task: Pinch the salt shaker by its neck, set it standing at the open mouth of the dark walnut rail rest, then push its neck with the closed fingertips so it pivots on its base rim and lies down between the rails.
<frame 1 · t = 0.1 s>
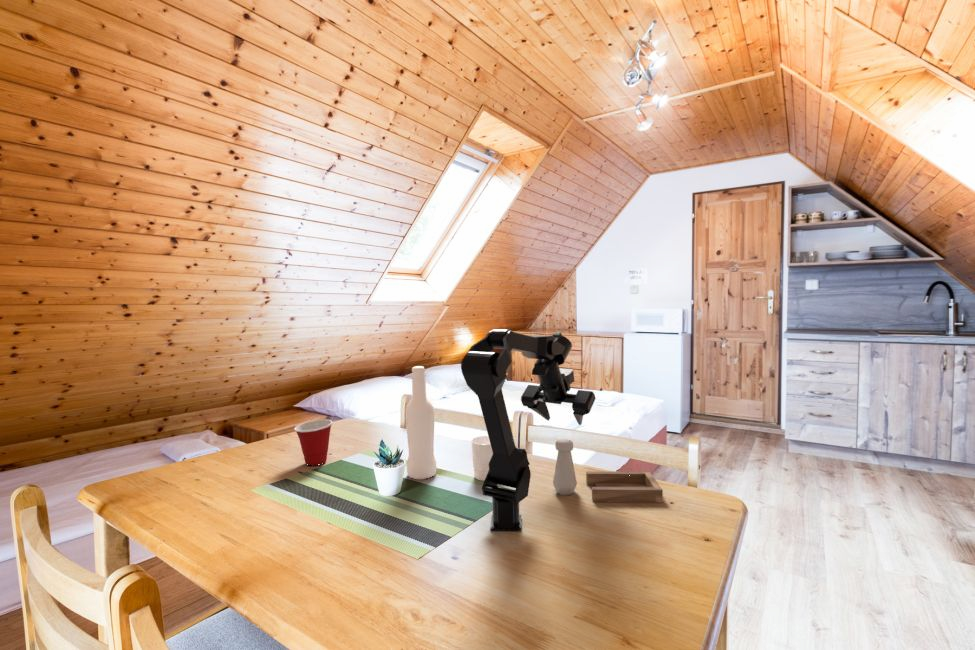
hand: (564, 421, 130), 15 cm above the table, tool tilted 30°, fingers open, 9 cm apart
white cup: (486, 477, 132), on the table
plastic cup: (315, 463, 145), on the table
bottle: (421, 475, 134), on the table
salt shaker: (564, 492, 121), on the table
rest: (619, 492, 120), on the table
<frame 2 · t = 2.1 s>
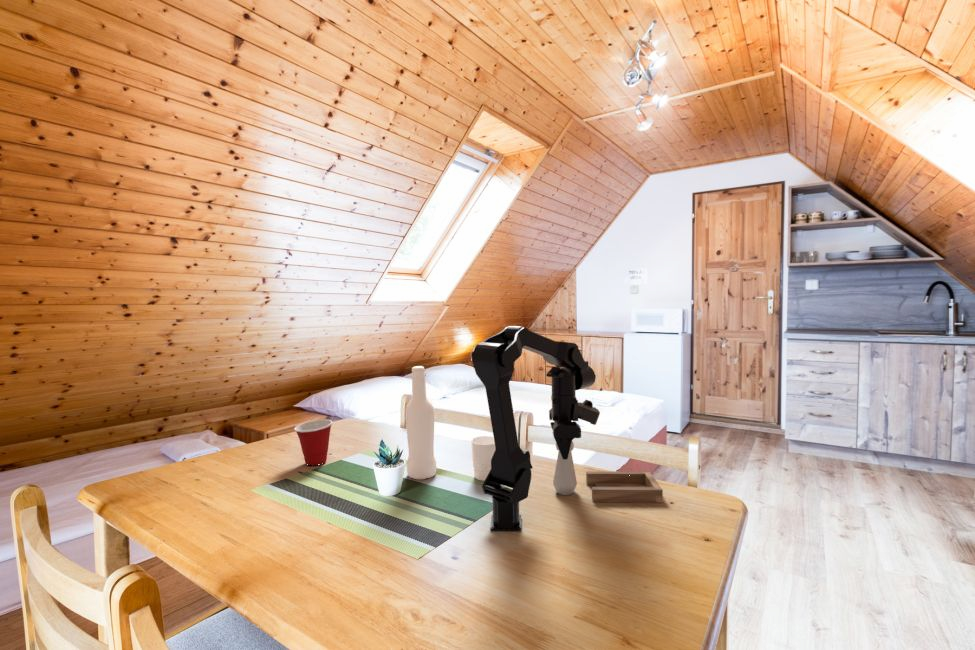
hand: (564, 456, 120), 9 cm above the table, tool pointing down, fingers closed on salt shaker, 4 cm apart
salt shaker: (564, 492, 121), on the table, touching gripper
everything else where it was.
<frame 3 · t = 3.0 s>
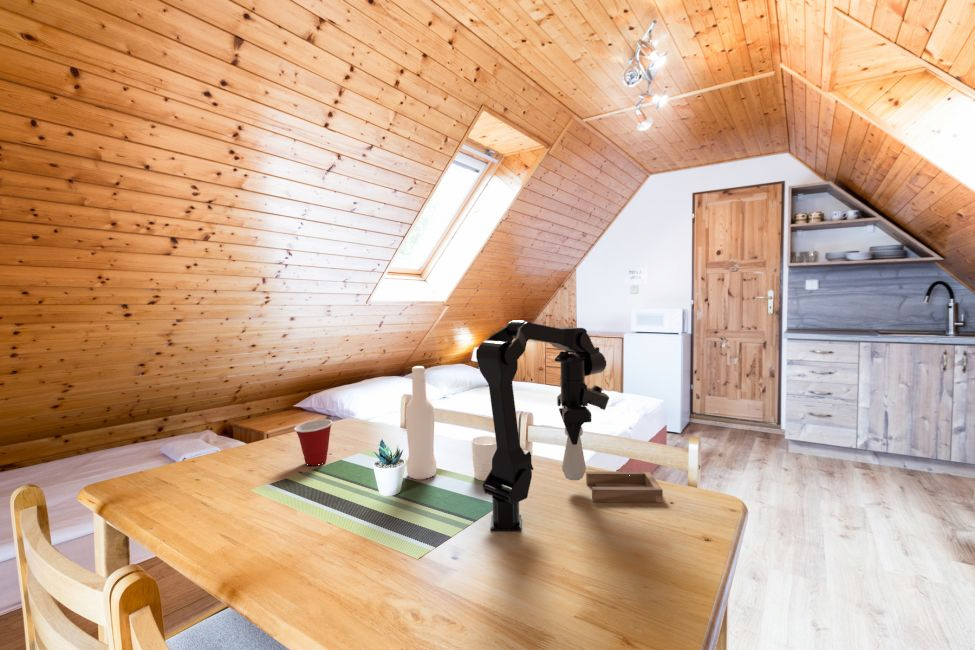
hand: (573, 441, 120), 13 cm above the table, tool pointing down, fingers closed on salt shaker, 4 cm apart
salt shaker: (573, 478, 120), point 3 cm above the table, touching gripper
everything else where it was.
when the fingers open (9 cm above the table, at t = 4.2 s): salt shaker stays where it is, on the table.
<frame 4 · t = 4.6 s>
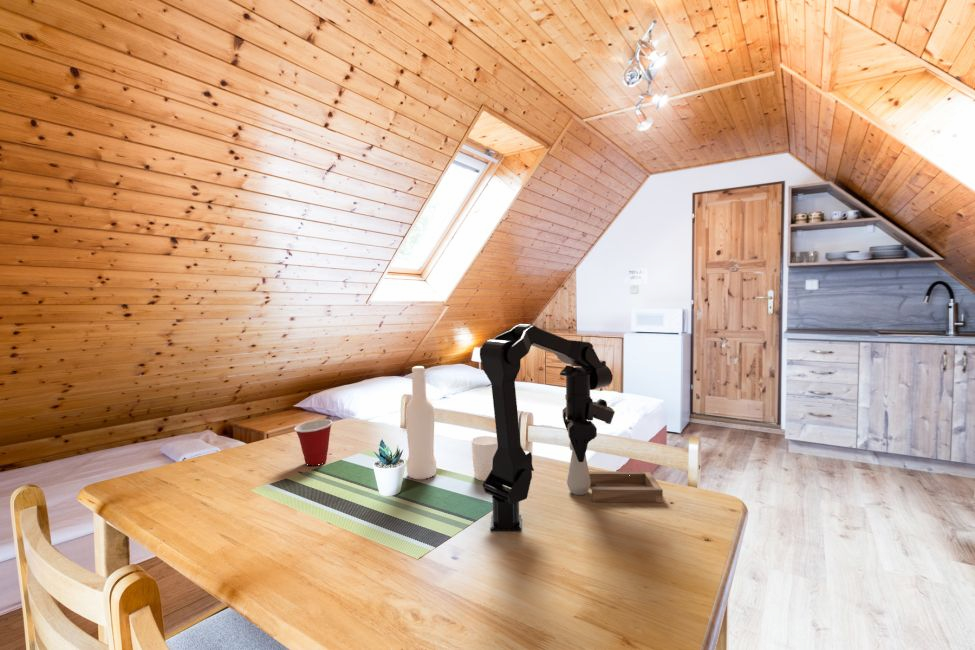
hand: (578, 455, 120), 9 cm above the table, tool pointing down, fingers open, 9 cm apart
salt shaker: (578, 492, 120), on the table
everything else where it was.
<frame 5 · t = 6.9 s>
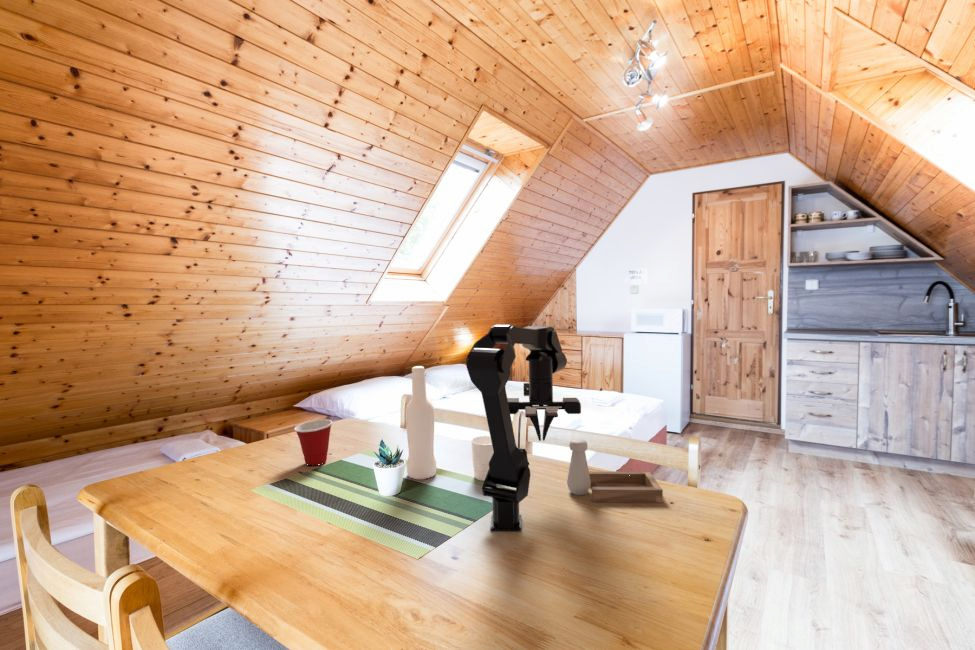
hand: (541, 440, 120), 13 cm above the table, tool pointing down, fingers closed
nothing on the table moved.
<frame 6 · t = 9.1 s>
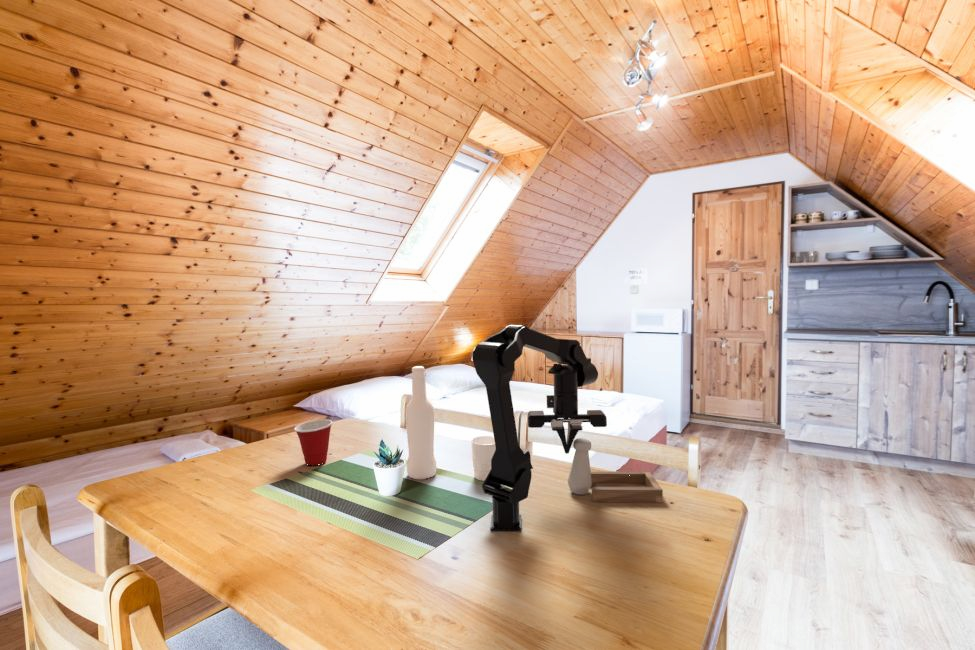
hand: (566, 453, 120), 10 cm above the table, tool pointing down, fingers closed
salt shaker: (578, 492, 120), on the table, touching gripper
everything else where it was.
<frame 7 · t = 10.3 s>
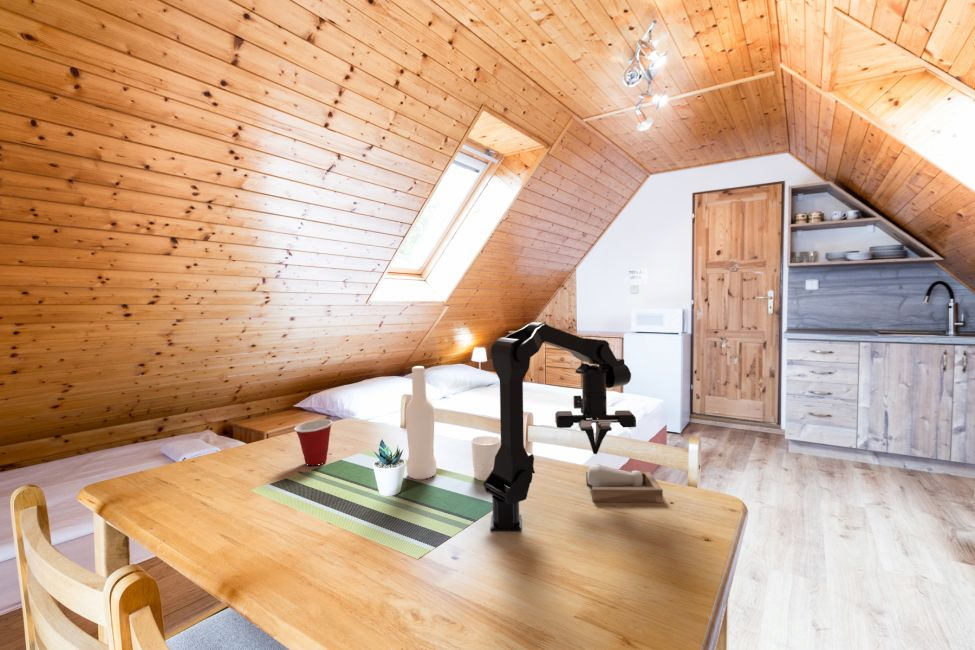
hand: (595, 453, 120), 10 cm above the table, tool pointing down, fingers closed
salt shaker: (587, 475, 121), point 4 cm above the table, touching rest
everything else where it was.
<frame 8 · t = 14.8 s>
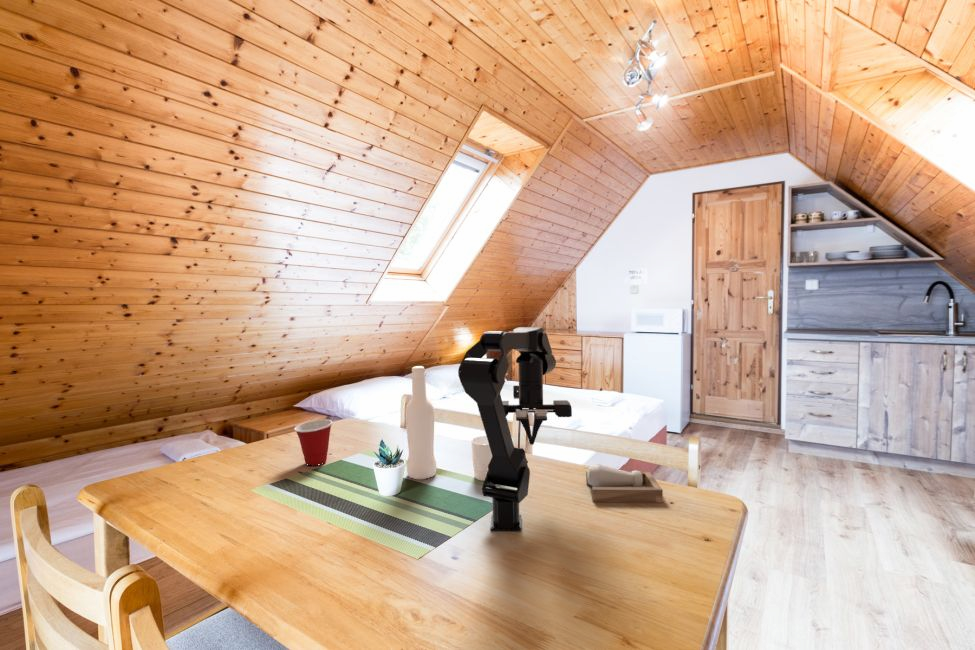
hand: (531, 444, 117), 13 cm above the table, tool pointing down, fingers closed
nothing on the table moved.
at the end: salt shaker tilted 94°; salt shaker inside the target area (5.9 cm from its centre), point 3.6 cm above the table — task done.
